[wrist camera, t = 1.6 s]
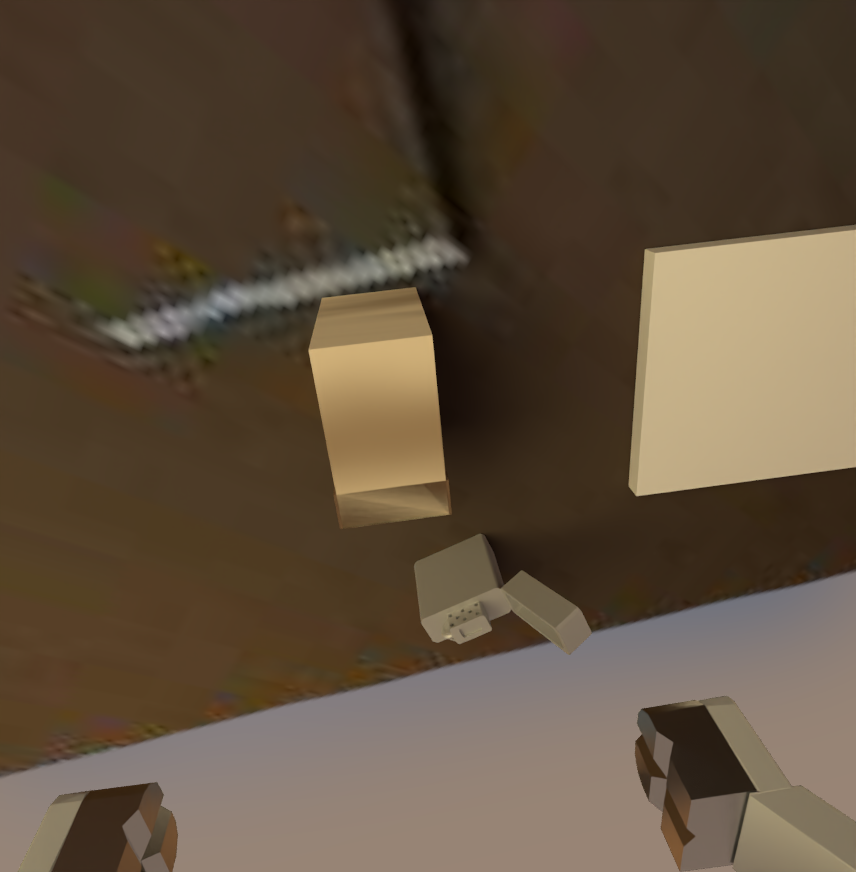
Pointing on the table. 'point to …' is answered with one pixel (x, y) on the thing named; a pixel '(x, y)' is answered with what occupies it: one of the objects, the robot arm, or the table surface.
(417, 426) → the block
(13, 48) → the table surface
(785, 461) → the tile
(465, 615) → the lighter
